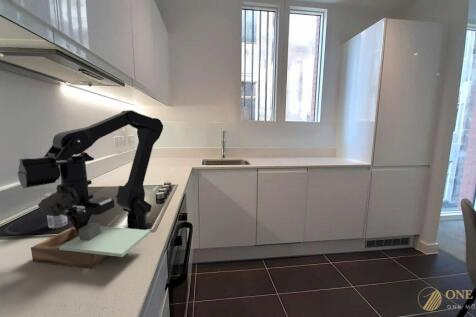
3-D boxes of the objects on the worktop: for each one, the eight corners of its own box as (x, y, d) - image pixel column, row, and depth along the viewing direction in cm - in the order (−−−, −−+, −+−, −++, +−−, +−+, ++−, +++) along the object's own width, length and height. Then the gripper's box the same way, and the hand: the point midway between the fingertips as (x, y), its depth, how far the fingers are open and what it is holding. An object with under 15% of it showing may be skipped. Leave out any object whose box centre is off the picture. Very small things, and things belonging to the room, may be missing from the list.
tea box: (73, 238, 70) (72, 226, 70) (124, 243, 67) (122, 231, 67) (32, 261, 59) (30, 247, 58) (91, 269, 55) (89, 254, 55)
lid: (97, 228, 68) (96, 216, 68) (150, 233, 65) (149, 220, 64) (59, 249, 56) (57, 235, 56) (122, 256, 53) (120, 242, 53)
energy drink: (65, 221, 83) (61, 190, 82) (69, 225, 80) (65, 193, 78) (47, 226, 79) (42, 194, 78) (50, 230, 76) (45, 197, 74)
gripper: (11, 185, 53) (21, 245, 56) (77, 189, 50) (84, 252, 52) (56, 175, 64) (63, 225, 67) (113, 177, 61) (118, 230, 63)
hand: (81, 233), depth 62 cm, fingers closed
